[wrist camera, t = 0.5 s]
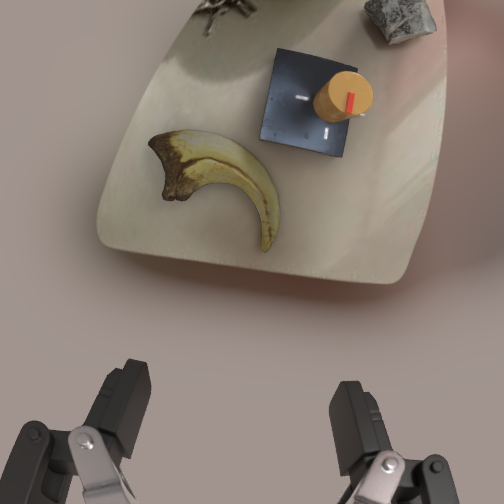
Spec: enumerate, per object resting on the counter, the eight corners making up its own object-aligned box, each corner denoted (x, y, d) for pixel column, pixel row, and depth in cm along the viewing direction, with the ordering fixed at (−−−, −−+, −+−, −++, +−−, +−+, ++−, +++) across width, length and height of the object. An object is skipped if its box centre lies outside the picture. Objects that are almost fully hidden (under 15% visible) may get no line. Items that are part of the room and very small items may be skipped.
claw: (138, 181, 35) (128, 184, 32) (171, 112, 32) (163, 108, 29) (267, 248, 38) (268, 257, 35) (306, 182, 35) (311, 185, 32)
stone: (415, -28, 15) (420, 29, 18) (441, 14, 21) (444, 67, 24) (352, -20, 22) (349, 32, 25) (386, 15, 28) (385, 63, 31)
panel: (276, 54, 29) (277, 47, 27) (364, 77, 30) (371, 72, 27) (259, 139, 33) (259, 138, 31) (349, 160, 34) (356, 161, 31)
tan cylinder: (316, 84, 28) (332, 64, 21) (351, 94, 28) (377, 79, 21) (310, 117, 30) (325, 107, 22) (345, 127, 30) (370, 120, 22)
